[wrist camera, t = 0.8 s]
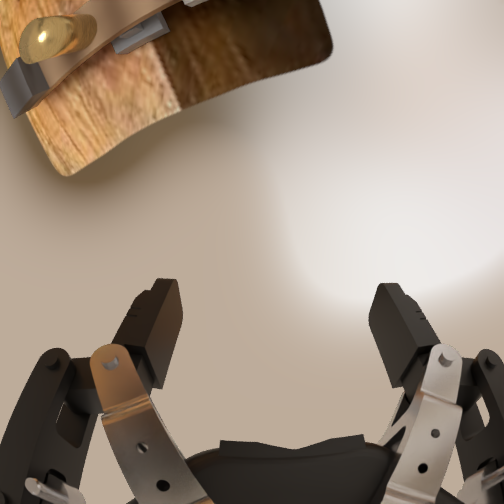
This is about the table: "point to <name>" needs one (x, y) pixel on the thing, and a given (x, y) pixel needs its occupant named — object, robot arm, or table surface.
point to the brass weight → (56, 36)
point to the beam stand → (140, 34)
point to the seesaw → (58, 68)
